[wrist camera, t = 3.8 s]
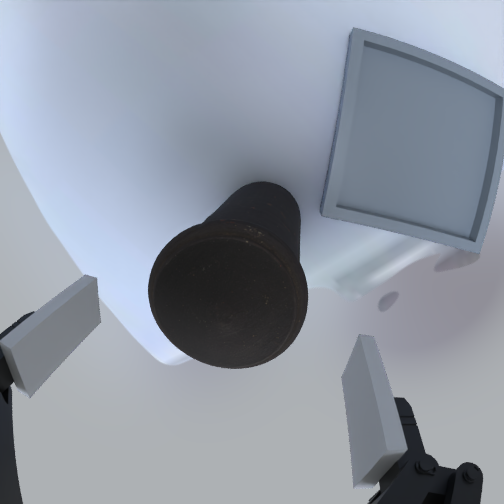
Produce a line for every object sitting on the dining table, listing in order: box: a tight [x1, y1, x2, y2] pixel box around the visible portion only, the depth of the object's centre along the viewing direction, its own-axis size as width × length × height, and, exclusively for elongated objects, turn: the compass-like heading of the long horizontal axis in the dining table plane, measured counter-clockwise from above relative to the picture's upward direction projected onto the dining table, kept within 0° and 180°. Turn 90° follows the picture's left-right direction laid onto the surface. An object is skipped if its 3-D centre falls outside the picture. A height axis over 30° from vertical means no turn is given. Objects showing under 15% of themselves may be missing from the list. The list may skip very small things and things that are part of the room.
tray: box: [320, 27, 504, 254], centre depth 27 cm, size 20×20×2 cm
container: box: [148, 182, 308, 369], centre depth 24 cm, size 9×9×20 cm
